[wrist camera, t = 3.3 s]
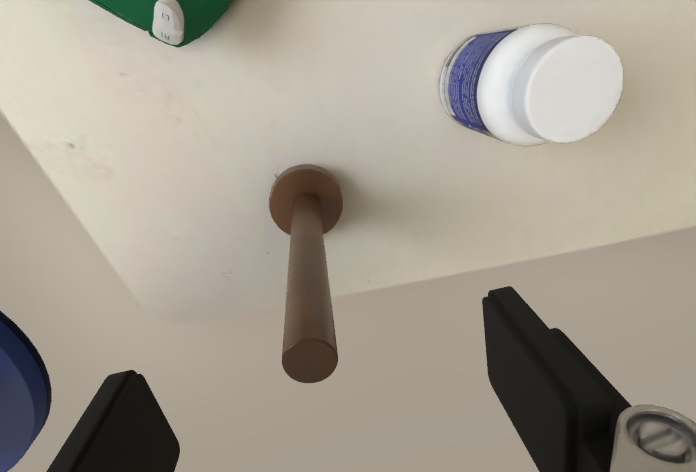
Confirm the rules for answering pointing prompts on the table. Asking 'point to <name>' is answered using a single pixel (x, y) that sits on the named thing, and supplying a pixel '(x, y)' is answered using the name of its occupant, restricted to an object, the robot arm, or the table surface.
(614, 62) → the pill bottle
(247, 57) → the table surface
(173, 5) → the gaming controller
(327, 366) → the stick
